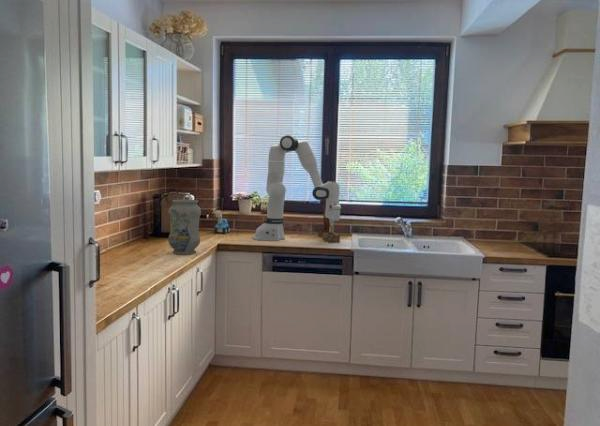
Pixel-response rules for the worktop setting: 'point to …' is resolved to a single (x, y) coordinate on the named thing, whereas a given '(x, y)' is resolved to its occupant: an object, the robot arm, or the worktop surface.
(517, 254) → the worktop surface
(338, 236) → the walnut seat board
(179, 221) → the vase
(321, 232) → the sculpture
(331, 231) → the beech peg
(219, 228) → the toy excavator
